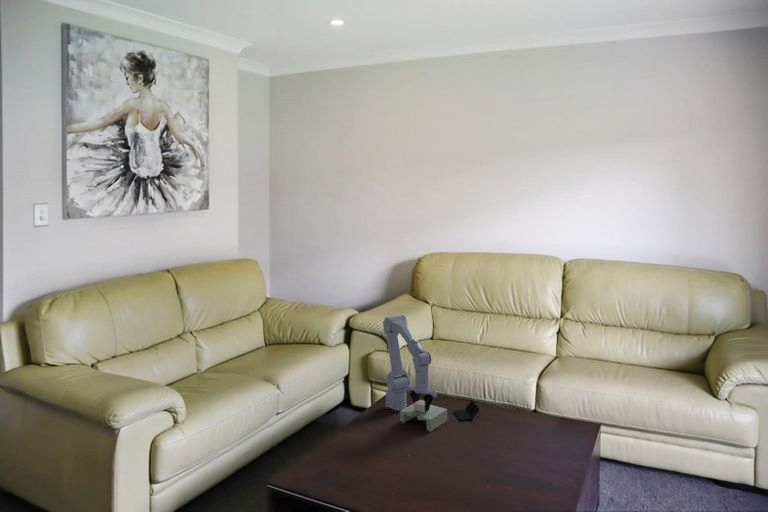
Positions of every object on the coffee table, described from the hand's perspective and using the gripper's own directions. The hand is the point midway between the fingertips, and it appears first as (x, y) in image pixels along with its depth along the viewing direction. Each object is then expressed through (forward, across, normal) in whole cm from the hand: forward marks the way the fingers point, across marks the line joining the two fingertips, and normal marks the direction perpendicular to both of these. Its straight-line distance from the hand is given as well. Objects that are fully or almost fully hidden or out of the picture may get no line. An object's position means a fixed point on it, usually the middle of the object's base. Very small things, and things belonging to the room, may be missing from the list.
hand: (421, 409), depth 255 cm
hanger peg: (+4, 0, 0) cm, 4 cm away
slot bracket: (+6, 0, +2) cm, 7 cm away
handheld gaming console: (+7, +12, +18) cm, 23 cm away
